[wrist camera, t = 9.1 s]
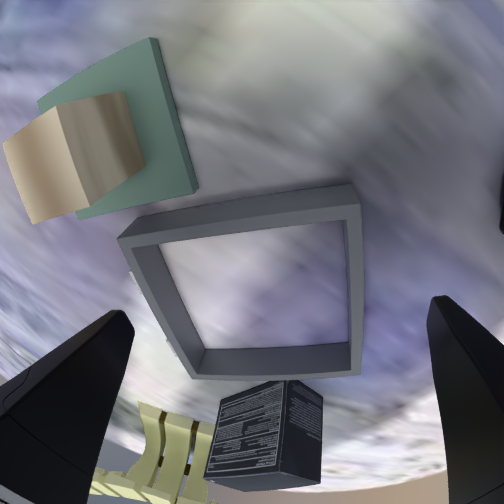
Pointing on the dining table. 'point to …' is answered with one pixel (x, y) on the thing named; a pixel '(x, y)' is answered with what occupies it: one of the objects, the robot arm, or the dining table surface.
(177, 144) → the mat
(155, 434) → the slatted curved stool
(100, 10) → the dining table surface
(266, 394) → the small box
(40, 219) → the block
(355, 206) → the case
